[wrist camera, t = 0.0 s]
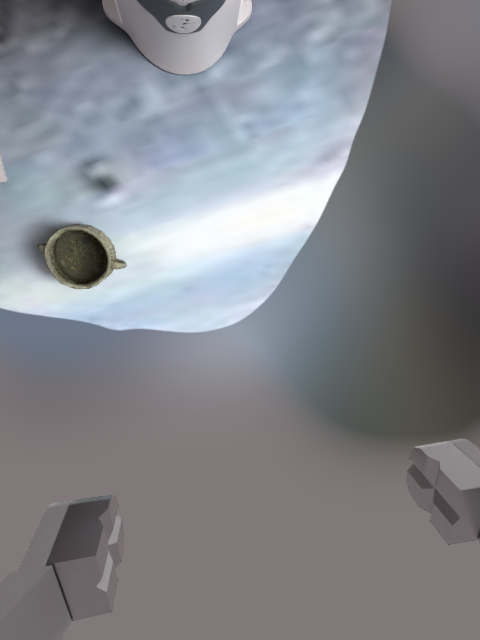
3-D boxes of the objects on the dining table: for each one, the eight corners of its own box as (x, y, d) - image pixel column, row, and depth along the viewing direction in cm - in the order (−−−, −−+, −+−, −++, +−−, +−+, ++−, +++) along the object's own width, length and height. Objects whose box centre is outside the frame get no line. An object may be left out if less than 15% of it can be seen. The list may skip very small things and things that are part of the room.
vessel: (134, 233, 52) (128, 238, 46) (125, 288, 54) (118, 298, 48) (50, 213, 49) (32, 214, 43) (45, 271, 52) (27, 280, 46)
